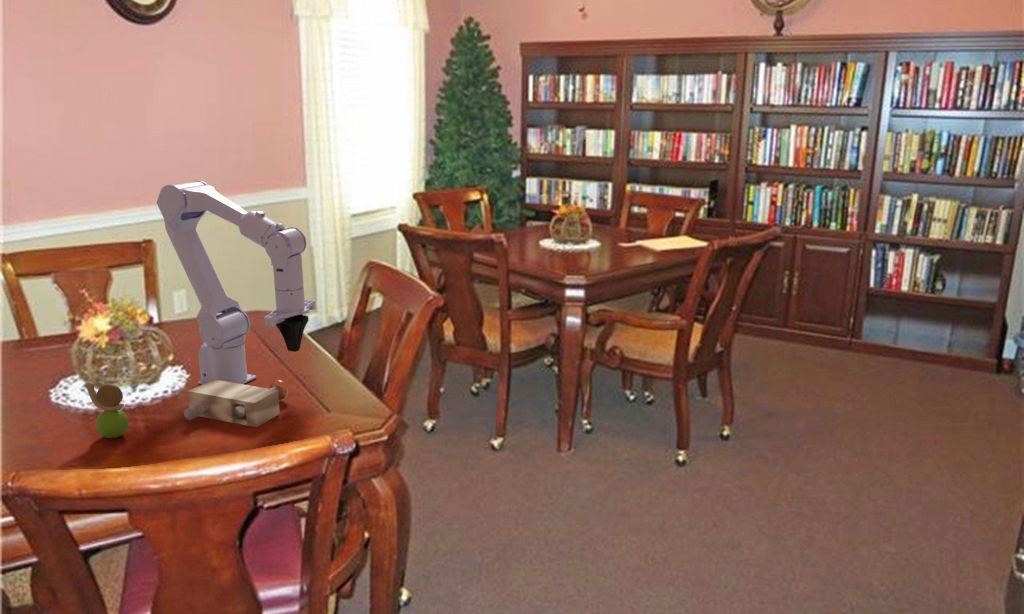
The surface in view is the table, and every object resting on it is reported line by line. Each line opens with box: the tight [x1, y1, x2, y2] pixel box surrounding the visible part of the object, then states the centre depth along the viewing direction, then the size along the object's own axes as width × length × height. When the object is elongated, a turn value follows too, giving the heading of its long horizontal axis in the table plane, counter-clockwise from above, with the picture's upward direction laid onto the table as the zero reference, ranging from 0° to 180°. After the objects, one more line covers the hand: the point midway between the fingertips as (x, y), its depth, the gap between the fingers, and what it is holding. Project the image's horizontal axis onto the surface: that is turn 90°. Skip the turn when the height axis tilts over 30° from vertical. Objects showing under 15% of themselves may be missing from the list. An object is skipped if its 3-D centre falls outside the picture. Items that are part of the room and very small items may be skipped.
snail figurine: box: [83, 375, 130, 439], centre depth 142 cm, size 5×6×12 cm
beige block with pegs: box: [183, 379, 281, 428], centre depth 152 cm, size 16×12×5 cm
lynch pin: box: [234, 379, 290, 417], centre depth 155 cm, size 4×13×4 cm, turn 159°
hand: (293, 350), depth 163 cm, fingers closed
